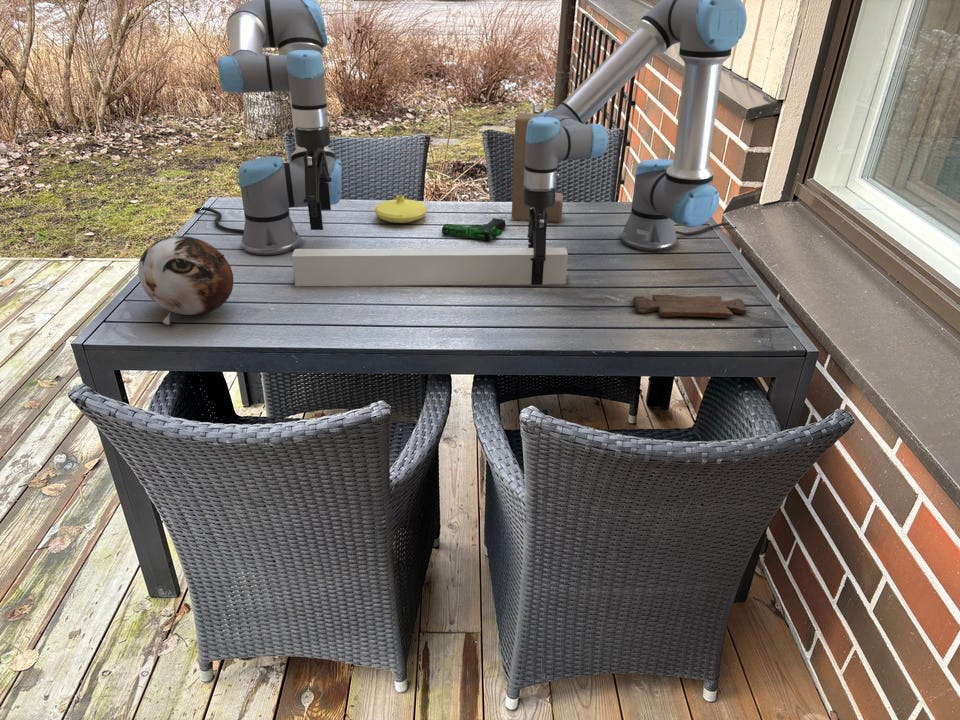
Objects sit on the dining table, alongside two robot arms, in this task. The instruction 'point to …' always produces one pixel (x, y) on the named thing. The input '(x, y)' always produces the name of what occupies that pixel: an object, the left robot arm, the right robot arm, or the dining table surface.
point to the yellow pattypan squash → (400, 210)
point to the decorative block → (518, 206)
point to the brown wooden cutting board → (689, 306)
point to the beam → (424, 266)
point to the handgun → (476, 230)
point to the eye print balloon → (185, 276)
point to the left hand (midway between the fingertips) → (321, 219)
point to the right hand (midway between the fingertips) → (534, 276)
